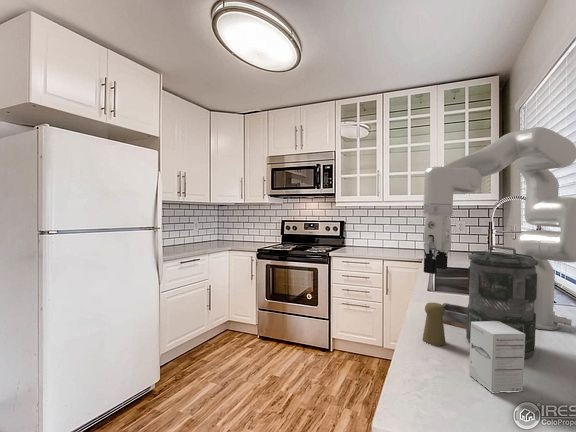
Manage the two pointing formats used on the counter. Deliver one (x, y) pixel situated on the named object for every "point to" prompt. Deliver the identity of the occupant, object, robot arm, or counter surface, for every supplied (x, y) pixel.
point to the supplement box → (497, 356)
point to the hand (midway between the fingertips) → (435, 270)
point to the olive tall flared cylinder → (434, 324)
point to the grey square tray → (455, 315)
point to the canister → (503, 292)
